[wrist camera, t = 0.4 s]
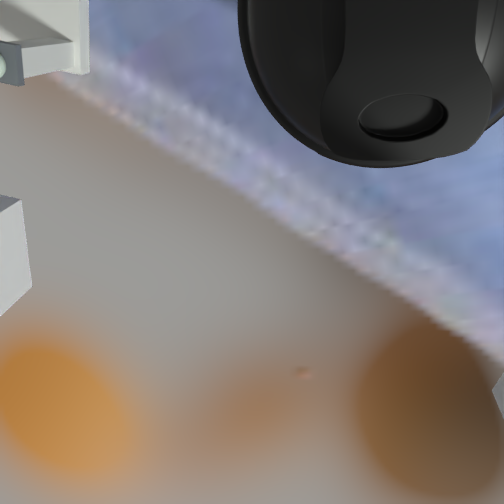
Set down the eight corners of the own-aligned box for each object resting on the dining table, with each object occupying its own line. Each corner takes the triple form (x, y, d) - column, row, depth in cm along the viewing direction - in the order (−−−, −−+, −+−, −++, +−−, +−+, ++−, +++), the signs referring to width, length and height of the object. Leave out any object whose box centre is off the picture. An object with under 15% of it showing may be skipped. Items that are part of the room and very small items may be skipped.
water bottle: (290, 91, 34) (234, 205, 14) (284, -69, 29) (186, -235, 9) (427, 83, 32) (582, 199, 12) (445, -90, 28) (741, -346, 8)
